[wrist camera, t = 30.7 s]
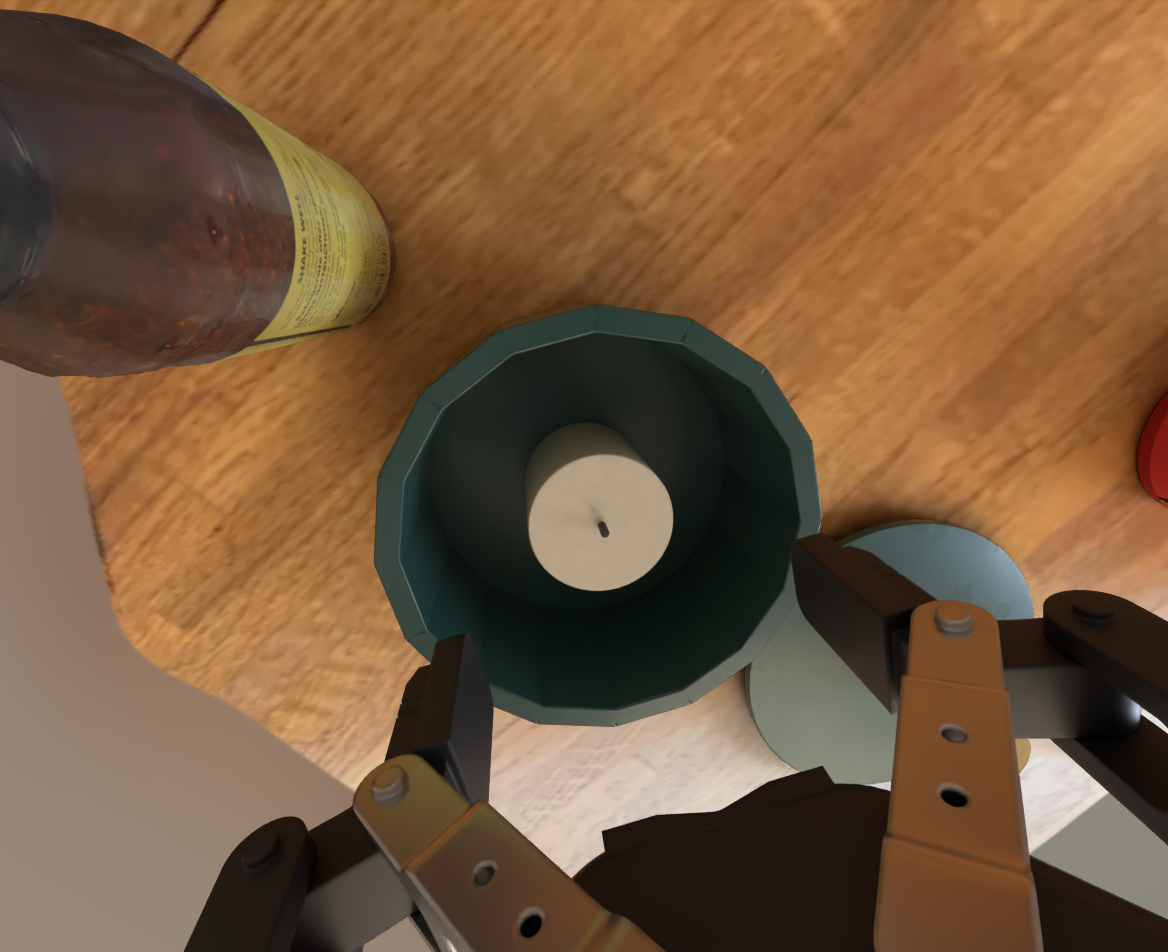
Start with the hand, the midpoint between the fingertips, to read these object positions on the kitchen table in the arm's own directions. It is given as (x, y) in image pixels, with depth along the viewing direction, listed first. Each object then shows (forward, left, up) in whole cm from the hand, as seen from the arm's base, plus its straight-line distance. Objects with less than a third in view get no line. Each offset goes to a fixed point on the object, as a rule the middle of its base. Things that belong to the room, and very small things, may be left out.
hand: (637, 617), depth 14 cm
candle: (0, 0, -12) cm, 12 cm away
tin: (0, 0, -13) cm, 13 cm away
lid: (+14, +13, -12) cm, 23 cm away
